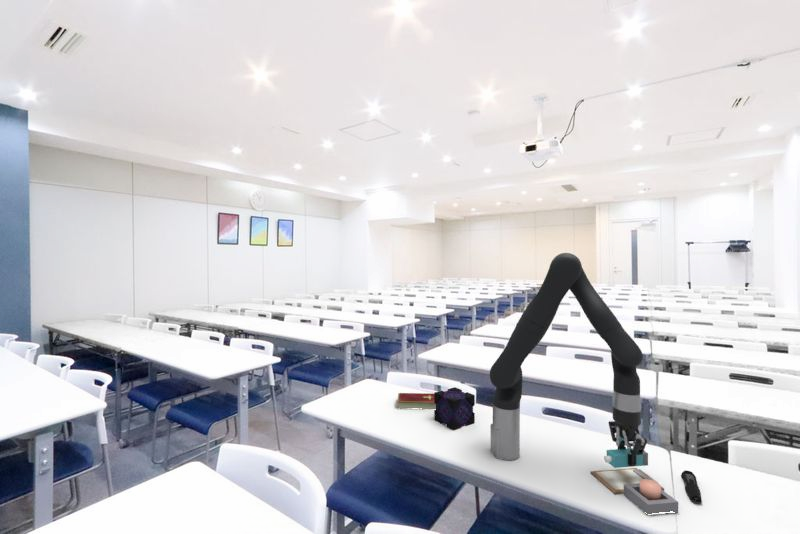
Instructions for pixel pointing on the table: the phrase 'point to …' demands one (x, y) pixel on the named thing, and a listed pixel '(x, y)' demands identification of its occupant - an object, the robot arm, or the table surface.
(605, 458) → the teal rectangular block
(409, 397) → the hardcover book
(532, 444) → the table surface
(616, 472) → the clipboard
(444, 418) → the energy cube
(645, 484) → the brown egg
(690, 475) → the electric trimmer
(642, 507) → the collar
